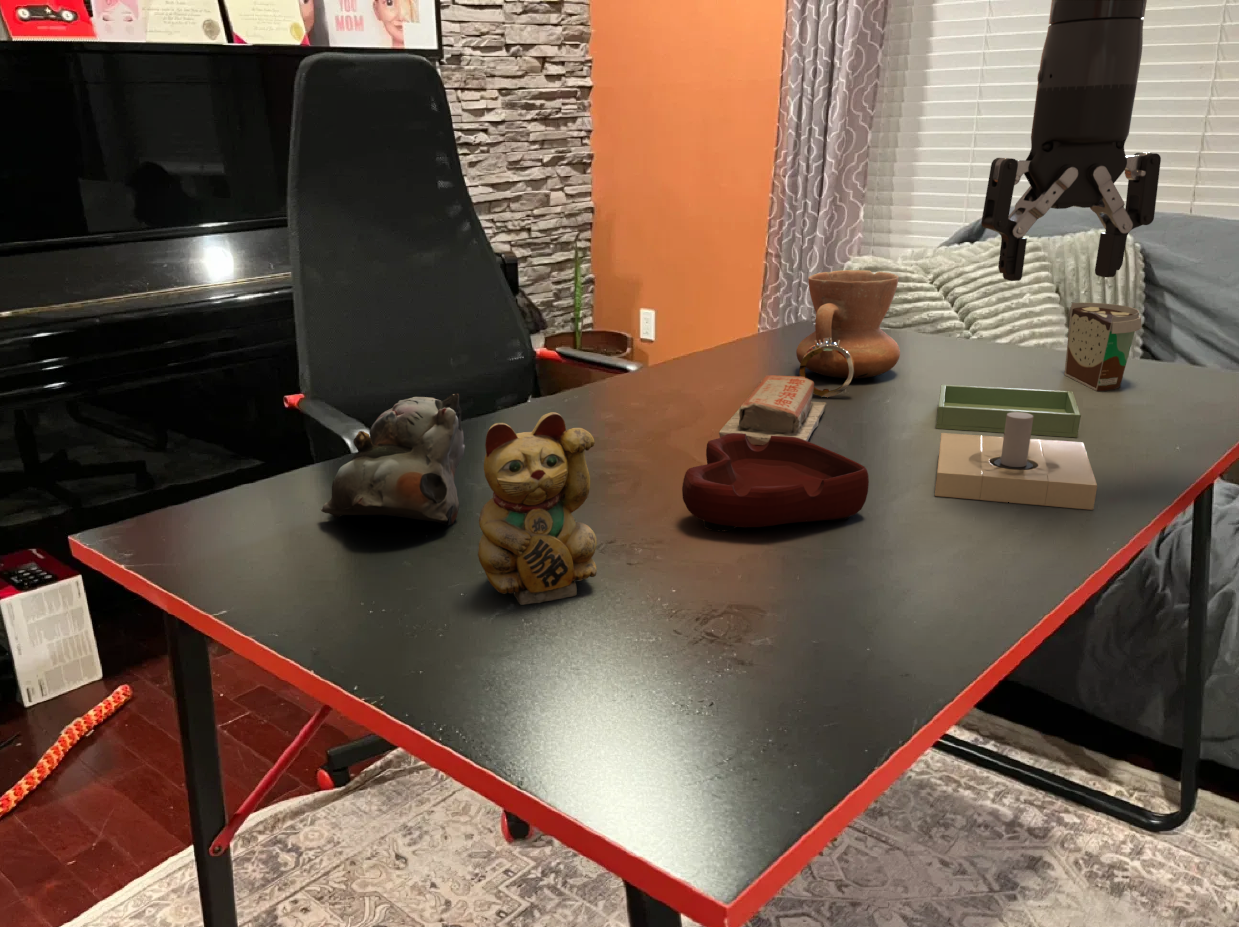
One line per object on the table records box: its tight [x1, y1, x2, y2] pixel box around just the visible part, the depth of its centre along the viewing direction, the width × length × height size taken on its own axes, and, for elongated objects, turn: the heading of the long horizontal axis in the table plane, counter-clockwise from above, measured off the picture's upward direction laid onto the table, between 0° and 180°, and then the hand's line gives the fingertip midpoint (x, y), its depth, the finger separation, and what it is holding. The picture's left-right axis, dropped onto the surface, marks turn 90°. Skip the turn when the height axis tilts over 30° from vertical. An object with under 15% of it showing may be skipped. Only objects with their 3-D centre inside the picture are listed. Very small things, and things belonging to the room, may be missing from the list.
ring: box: [799, 337, 855, 398], centre depth 135 cm, size 7×3×8 cm, turn 66°
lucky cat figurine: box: [319, 393, 466, 526], centre depth 98 cm, size 15×12×14 cm
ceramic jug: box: [795, 269, 901, 379], centre depth 145 cm, size 18×14×14 cm
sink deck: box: [934, 432, 1098, 511], centre depth 103 cm, size 14×14×2 cm
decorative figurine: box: [477, 411, 598, 605], centre depth 81 cm, size 10×8×15 cm
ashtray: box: [681, 433, 870, 532], centre depth 97 cm, size 18×16×5 cm
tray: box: [935, 384, 1082, 438], centre depth 123 cm, size 15×11×3 cm
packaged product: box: [718, 374, 827, 446], centre depth 123 cm, size 18×5×10 cm
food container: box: [1063, 302, 1142, 392], centre depth 137 cm, size 12×6×10 cm, turn 179°
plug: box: [994, 412, 1033, 470], centre depth 100 cm, size 4×4×7 cm
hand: (1058, 278), depth 91 cm, fingers open, 8 cm apart
